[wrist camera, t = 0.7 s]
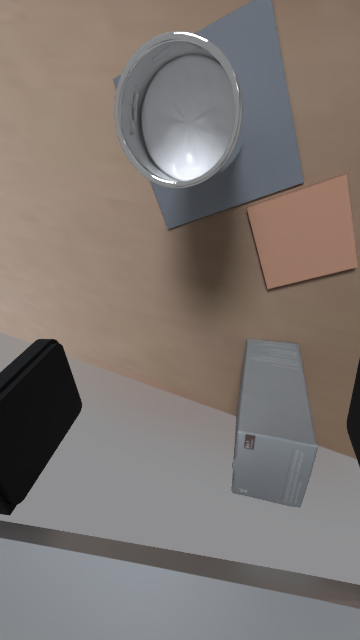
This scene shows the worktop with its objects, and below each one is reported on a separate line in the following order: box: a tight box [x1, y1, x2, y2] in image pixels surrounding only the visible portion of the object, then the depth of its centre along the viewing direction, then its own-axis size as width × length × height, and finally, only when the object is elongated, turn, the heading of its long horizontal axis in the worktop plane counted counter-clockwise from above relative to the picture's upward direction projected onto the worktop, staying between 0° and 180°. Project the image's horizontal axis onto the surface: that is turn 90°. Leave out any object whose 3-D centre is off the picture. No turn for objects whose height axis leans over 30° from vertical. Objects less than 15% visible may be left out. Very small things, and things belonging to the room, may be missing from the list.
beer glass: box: [114, 31, 248, 188], centre depth 22 cm, size 7×7×15 cm
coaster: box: [247, 174, 358, 289], centre depth 31 cm, size 9×9×1 cm
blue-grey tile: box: [113, 0, 304, 229], centre depth 28 cm, size 14×14×1 cm
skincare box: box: [232, 339, 318, 507], centre depth 33 cm, size 8×7×16 cm
